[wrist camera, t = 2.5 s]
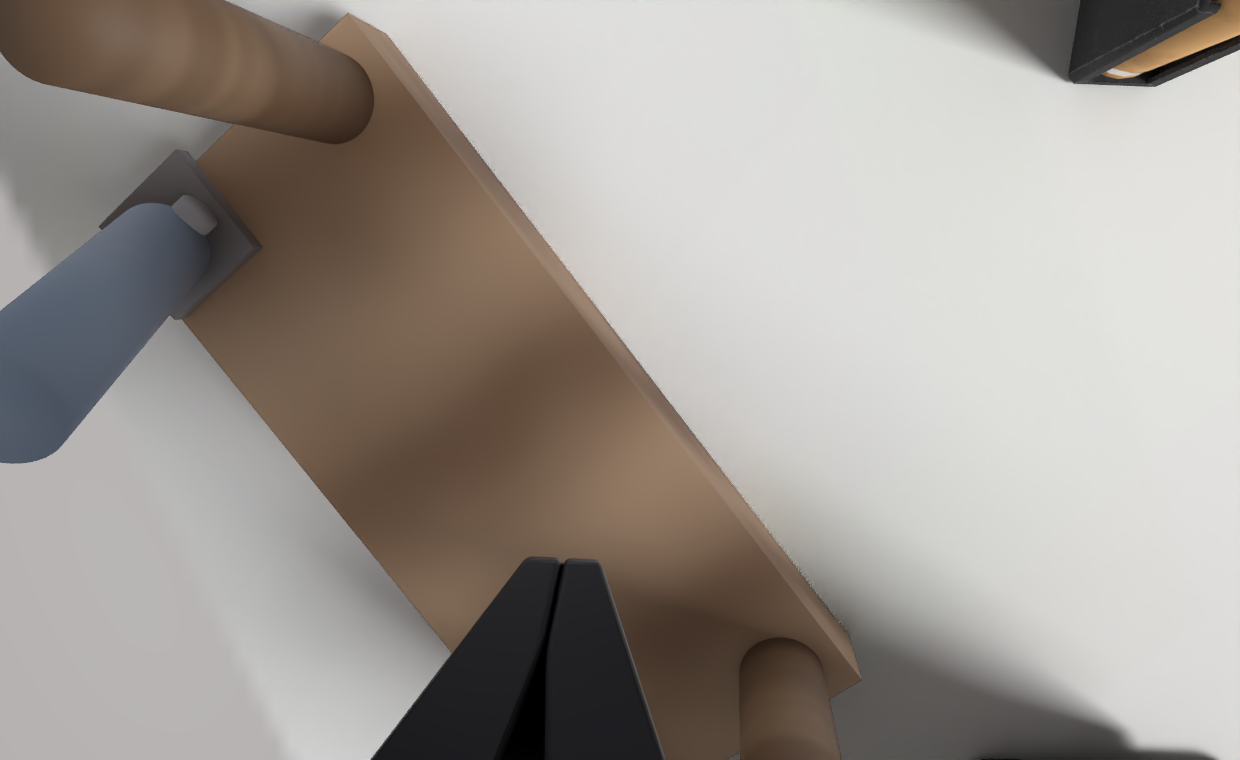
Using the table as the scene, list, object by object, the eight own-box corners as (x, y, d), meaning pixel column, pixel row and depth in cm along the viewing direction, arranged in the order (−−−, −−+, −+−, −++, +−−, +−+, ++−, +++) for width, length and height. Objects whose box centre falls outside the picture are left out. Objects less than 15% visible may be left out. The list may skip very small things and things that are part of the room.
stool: (849, 637, 21) (943, 973, 11) (610, 782, 22) (522, 1175, 13) (379, 24, 19) (51, -165, 10) (166, 228, 21) (-280, 228, 12)
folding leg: (241, 236, 19) (106, 405, 12) (175, 298, 19) (11, 491, 13) (167, 171, 18) (-22, 318, 11) (99, 238, 18) (-117, 414, 12)
